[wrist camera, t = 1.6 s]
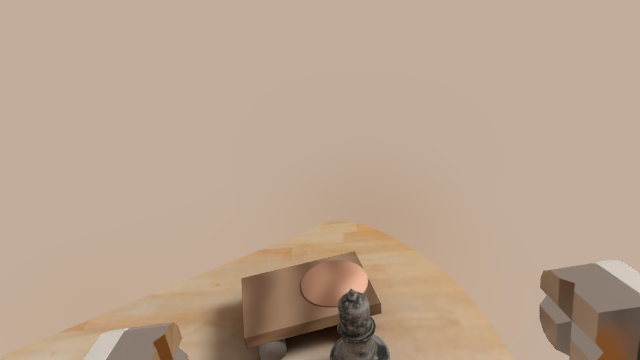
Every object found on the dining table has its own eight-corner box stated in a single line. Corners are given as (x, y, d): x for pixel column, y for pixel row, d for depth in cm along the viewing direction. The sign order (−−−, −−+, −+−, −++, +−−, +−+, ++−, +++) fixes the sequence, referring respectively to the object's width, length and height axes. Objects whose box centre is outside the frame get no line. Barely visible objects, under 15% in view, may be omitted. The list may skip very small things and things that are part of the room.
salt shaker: (323, 373, 42) (307, 284, 36) (369, 346, 44) (360, 259, 39) (354, 419, 37) (340, 324, 32) (404, 386, 39) (398, 293, 34)
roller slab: (252, 367, 43) (243, 336, 41) (248, 305, 52) (241, 277, 50) (383, 332, 45) (380, 301, 43) (357, 278, 54) (354, 250, 52)
